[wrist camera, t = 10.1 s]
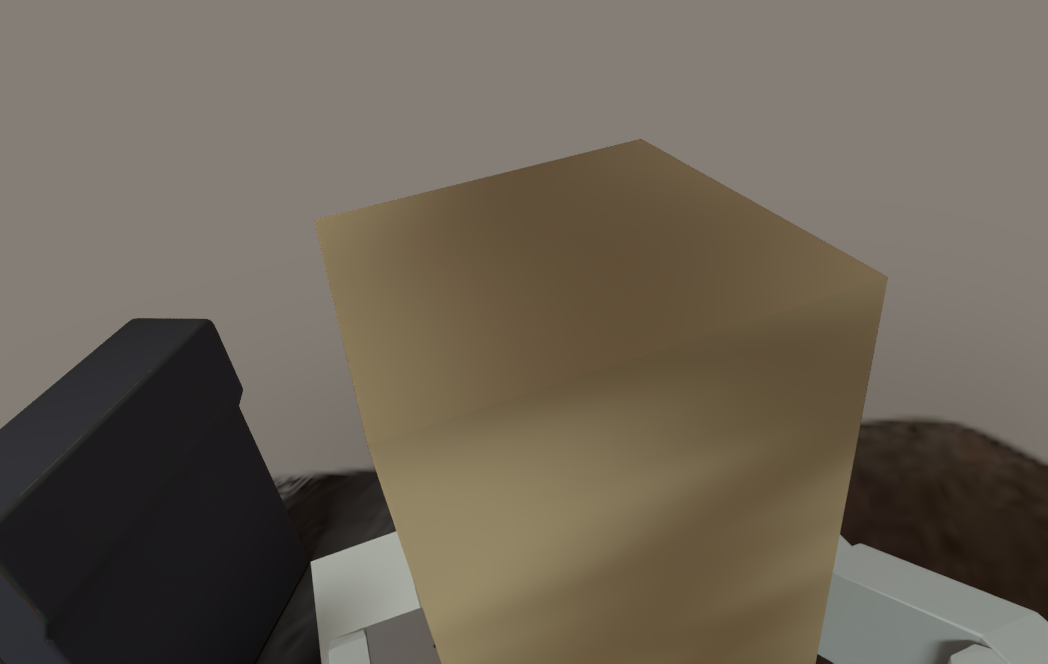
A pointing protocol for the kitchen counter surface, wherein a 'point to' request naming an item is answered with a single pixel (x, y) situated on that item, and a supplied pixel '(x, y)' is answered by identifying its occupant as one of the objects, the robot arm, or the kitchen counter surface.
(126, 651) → the black flat upright block
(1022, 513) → the kitchen counter surface
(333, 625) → the socket stand
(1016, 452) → the kitchen counter surface
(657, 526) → the maple peg
